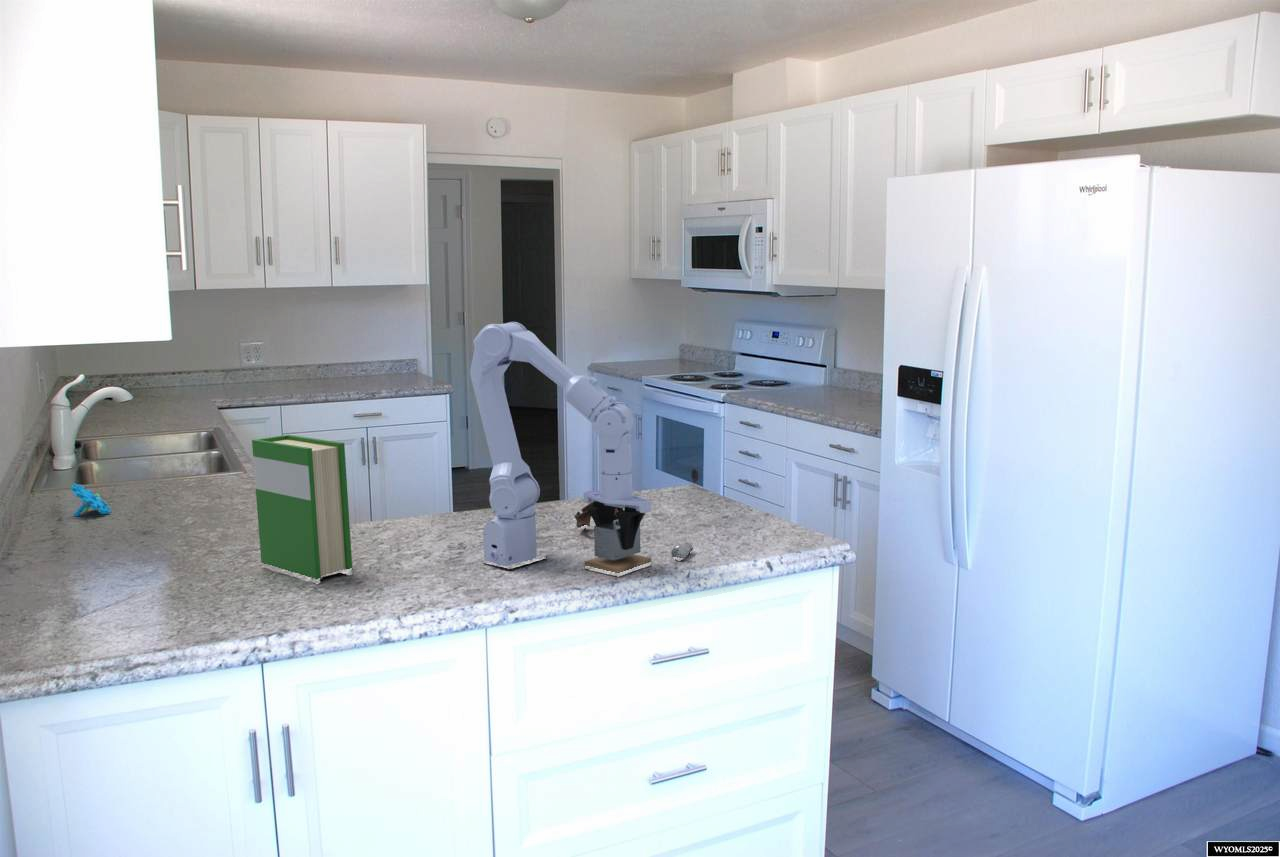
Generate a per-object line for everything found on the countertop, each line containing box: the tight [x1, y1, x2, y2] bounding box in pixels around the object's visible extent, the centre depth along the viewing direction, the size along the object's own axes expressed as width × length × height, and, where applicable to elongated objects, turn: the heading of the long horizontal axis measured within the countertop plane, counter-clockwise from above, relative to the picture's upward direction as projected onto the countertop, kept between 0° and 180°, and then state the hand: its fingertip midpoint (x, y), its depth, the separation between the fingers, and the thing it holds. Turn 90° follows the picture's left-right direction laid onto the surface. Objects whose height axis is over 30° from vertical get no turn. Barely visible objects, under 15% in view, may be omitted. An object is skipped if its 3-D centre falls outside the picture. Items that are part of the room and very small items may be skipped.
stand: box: [584, 554, 652, 573], centre depth 181 cm, size 9×8×2 cm
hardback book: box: [251, 434, 353, 579], centre depth 182 cm, size 18×7×24 cm, turn 51°
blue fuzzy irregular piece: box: [70, 483, 112, 517], centre depth 232 cm, size 11×6×10 cm
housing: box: [593, 519, 642, 561], centre depth 181 cm, size 7×5×6 cm
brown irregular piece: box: [573, 502, 624, 528], centre depth 208 cm, size 12×10×8 cm
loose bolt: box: [670, 543, 694, 559], centre depth 187 cm, size 6×3×3 cm, turn 159°
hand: (617, 546), depth 181 cm, fingers closed on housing, 5 cm apart
